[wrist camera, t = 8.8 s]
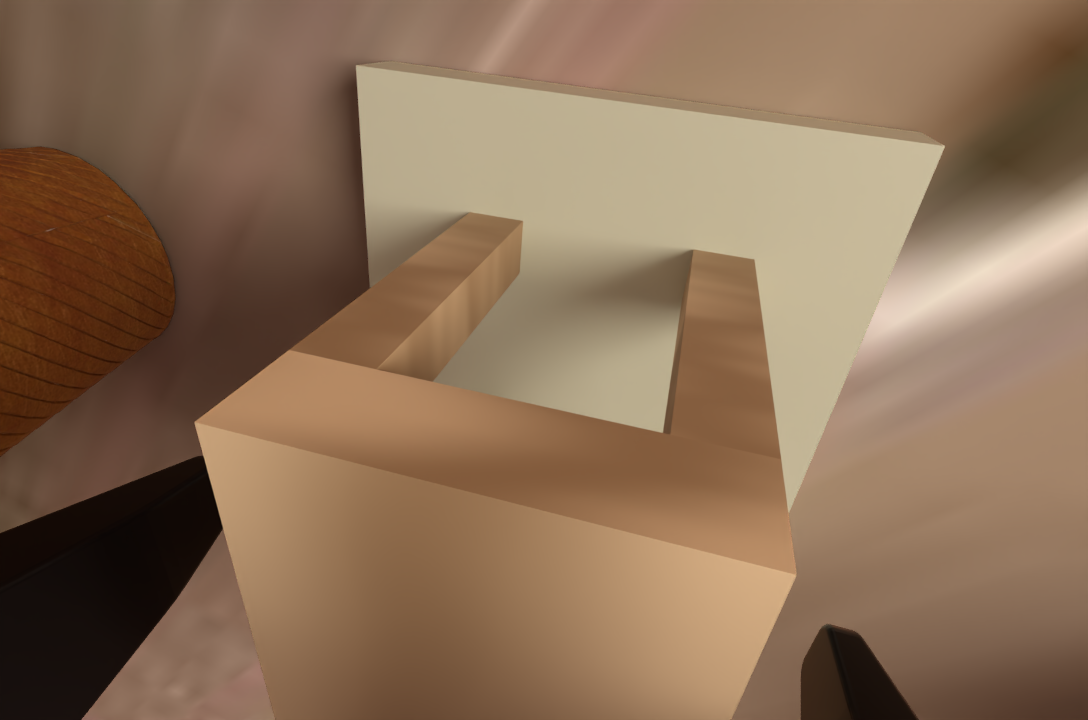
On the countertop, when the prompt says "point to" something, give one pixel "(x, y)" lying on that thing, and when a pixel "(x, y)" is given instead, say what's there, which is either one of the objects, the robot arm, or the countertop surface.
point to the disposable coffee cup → (70, 284)
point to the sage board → (640, 231)
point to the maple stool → (502, 513)
